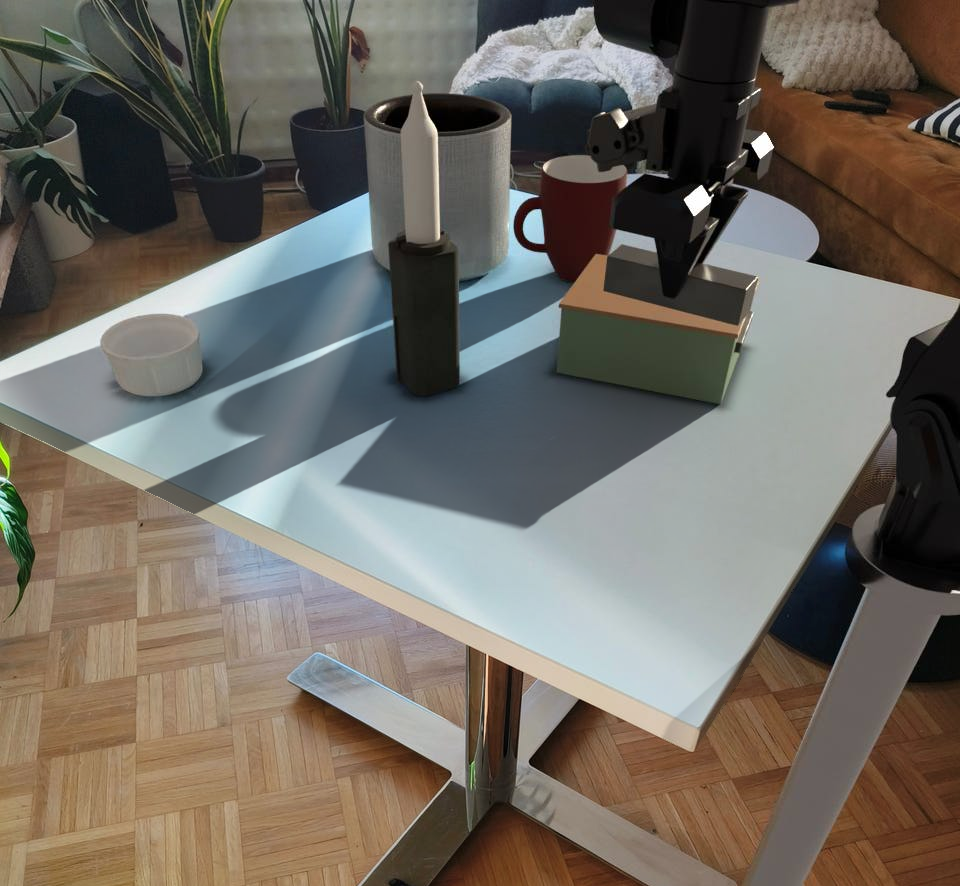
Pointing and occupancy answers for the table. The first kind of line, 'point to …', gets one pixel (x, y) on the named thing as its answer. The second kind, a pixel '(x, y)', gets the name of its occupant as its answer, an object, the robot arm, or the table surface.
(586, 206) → the mug
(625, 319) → the bread box
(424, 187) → the candle
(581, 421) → the table surface
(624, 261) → the stick
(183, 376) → the ramekin
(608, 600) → the table surface
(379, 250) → the planter
